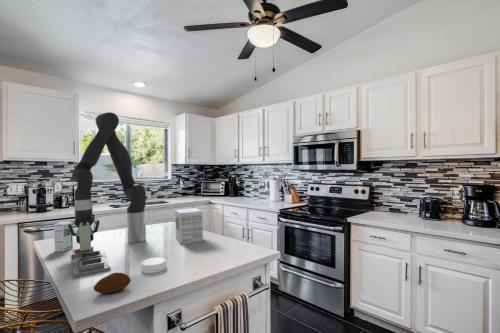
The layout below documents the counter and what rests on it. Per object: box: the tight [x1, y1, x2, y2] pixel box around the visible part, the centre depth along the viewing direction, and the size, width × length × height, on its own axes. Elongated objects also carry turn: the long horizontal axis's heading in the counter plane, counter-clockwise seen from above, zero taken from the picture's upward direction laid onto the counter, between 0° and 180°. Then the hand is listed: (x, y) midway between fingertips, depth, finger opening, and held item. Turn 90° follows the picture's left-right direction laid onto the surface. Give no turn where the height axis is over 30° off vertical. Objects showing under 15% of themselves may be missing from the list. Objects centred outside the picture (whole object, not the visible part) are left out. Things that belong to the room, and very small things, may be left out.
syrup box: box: [53, 221, 74, 252], centre depth 143 cm, size 6×6×14 cm
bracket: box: [72, 246, 94, 260], centre depth 134 cm, size 9×10×2 cm
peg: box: [79, 225, 92, 251], centre depth 135 cm, size 5×5×12 cm
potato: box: [93, 272, 132, 295], centre depth 94 cm, size 6×12×6 cm, turn 123°
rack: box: [73, 250, 112, 278], centre depth 119 cm, size 13×22×4 cm, turn 33°
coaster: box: [140, 257, 167, 274], centre depth 114 cm, size 10×10×4 cm
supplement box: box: [174, 207, 204, 245], centre depth 157 cm, size 13×13×18 cm
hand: (85, 242), depth 135 cm, fingers closed on peg, 4 cm apart
